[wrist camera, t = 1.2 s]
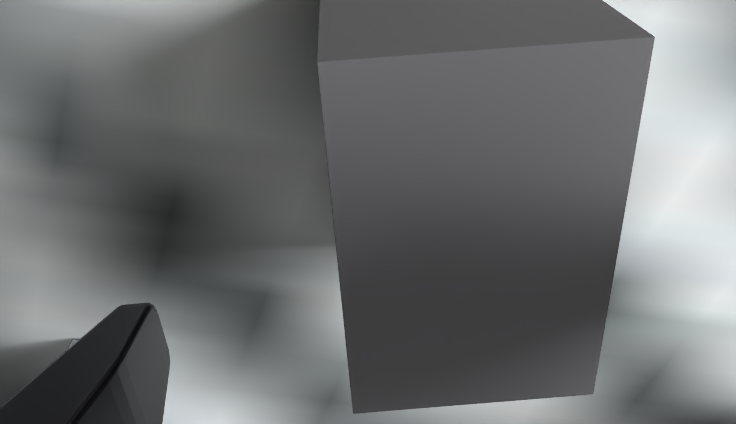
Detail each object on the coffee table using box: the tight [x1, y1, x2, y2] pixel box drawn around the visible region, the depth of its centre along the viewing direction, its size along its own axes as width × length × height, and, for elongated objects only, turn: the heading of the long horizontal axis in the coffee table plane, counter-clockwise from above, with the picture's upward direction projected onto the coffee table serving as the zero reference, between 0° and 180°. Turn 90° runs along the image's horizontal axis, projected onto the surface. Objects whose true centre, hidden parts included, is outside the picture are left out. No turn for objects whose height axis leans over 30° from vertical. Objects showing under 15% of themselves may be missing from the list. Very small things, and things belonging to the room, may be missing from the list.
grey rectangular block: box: [317, 0, 655, 414], centre depth 11 cm, size 6×4×5 cm, turn 3°
